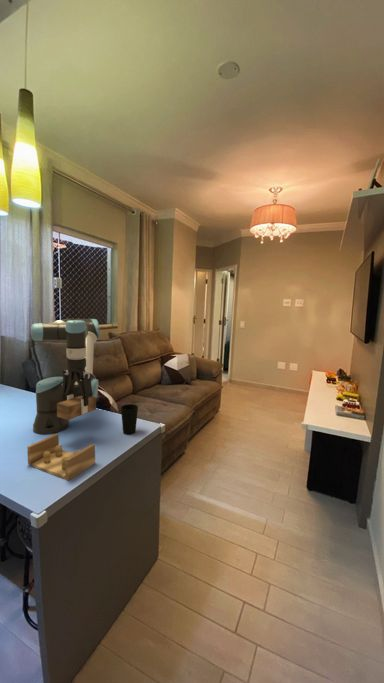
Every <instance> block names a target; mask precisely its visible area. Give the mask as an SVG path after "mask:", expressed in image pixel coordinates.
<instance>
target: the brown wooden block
mask: <svg viewBox="0 0 384 683" xmlns="http://www.w3.org/2000/svg"><path fill="white" fill-rule="evenodd" d="M81 398H83V397H82V396H78V397H75V398H72V399H69V400H66V401H63V402H60V403H57V417H60V418H63V419H67V420H69V421H70V420H73V419H75V418H78V417H81V416H83V415H86V414H88V413H91V412H93V411H95V410H97V398H96V397H93V396H92V397H89V398H88V412H87V413H85V414H81Z"/></svg>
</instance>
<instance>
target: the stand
mask: <svg viewBox="0 0 384 683" xmlns="http://www.w3.org/2000/svg"><path fill="white" fill-rule="evenodd" d="M59 438H60V436H59V434H58V433H53V434H52V435H50V436H48V437H47V436H46V437H45V438H42V439H41V440H39V441H36V442H35V443H31V444H29V445H28V446H26V447H27V448H26V449H27V465H28V464H29V465H32V466H33V467H32V466H31V467H32V468H34V467H36V468H35V469H37V468H38V469H37V470H40V469H41V470H40V471H42V470H43V471H42V472H45V471H46V472H45V473H47V472H48V474H50V475H53V476H56V477H58V478H61V479H64V480H66V481H70V480H72V479H73V478H75V477H77V476H78V475H79V474H81V473H82V472H84V471H85V470H87V469H89V468H90V467H91V466H93V465H94V464H96V445H95V444H92V443H91V444H90V445H88V446H86V447H85V448H82V449H81V450H75V451H73V452H70V451H67V450H64V449H63V445H61V444H60V440H59ZM29 465H28V466H29Z"/></svg>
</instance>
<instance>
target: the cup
mask: <svg viewBox="0 0 384 683" xmlns="http://www.w3.org/2000/svg"><path fill="white" fill-rule="evenodd" d="M138 406H139V405H137V404H133V403H132V404H130V403H128V404H124V405H122V406H120V414H121V422H122V423H121V424H122V433H123V434H124V435H127V436H129V435H135V433H136V430H137V421H138V411H139V407H138Z"/></svg>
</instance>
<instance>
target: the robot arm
mask: <svg viewBox="0 0 384 683" xmlns="http://www.w3.org/2000/svg"><path fill="white" fill-rule="evenodd" d="M100 332H101V331H100V324H99V321H98V319H96V318H63V319H59V320H55V321H54V322H46V323H44V322H43V323H42V322H39V323H37V322H36V323H32V324H31V328H30V336H31V339H32V340H33V341H34V342H37V341H38V342H45V341H46V342H49V341H50V342H51V341H52V342H54V341H55V342H56V341H57V342H58V341H59V342H62V341H63V342H66V343H65V344H66V346H65V348H66V368H67V369H64V370H62V376H51V377H47V378H44V379H40V380H39V381H38V382H37V383H36V385H35V398H36V399H35V400H36V401H35V402H36V414H35V419H34V422H33V424H32V431H33V432H34V433H35V434H38V435H39V434H40V435H51V434H57V433H60V432H62V431H64V430H66V429H68V428H69V426H70V420H67V419H63V418H60V417H57V403H60V402H63V401H66V400H69V399H72V398H75V397H78V396H82V397H83V398H81V414H83V415H86V414H88V413H89V412H88V398H89V397H92V396H93V397H96V399H97V398H98V392H99V379H97V378H96V376H95V375H94V374H93V372H94V371H93V369H94V368H93V367H94V350H95V349H94V348H95V344H96V342H97V341H98V340H99V339H100V336H101V334H100ZM87 412H88V413H87ZM85 413H86V414H85Z"/></svg>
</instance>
